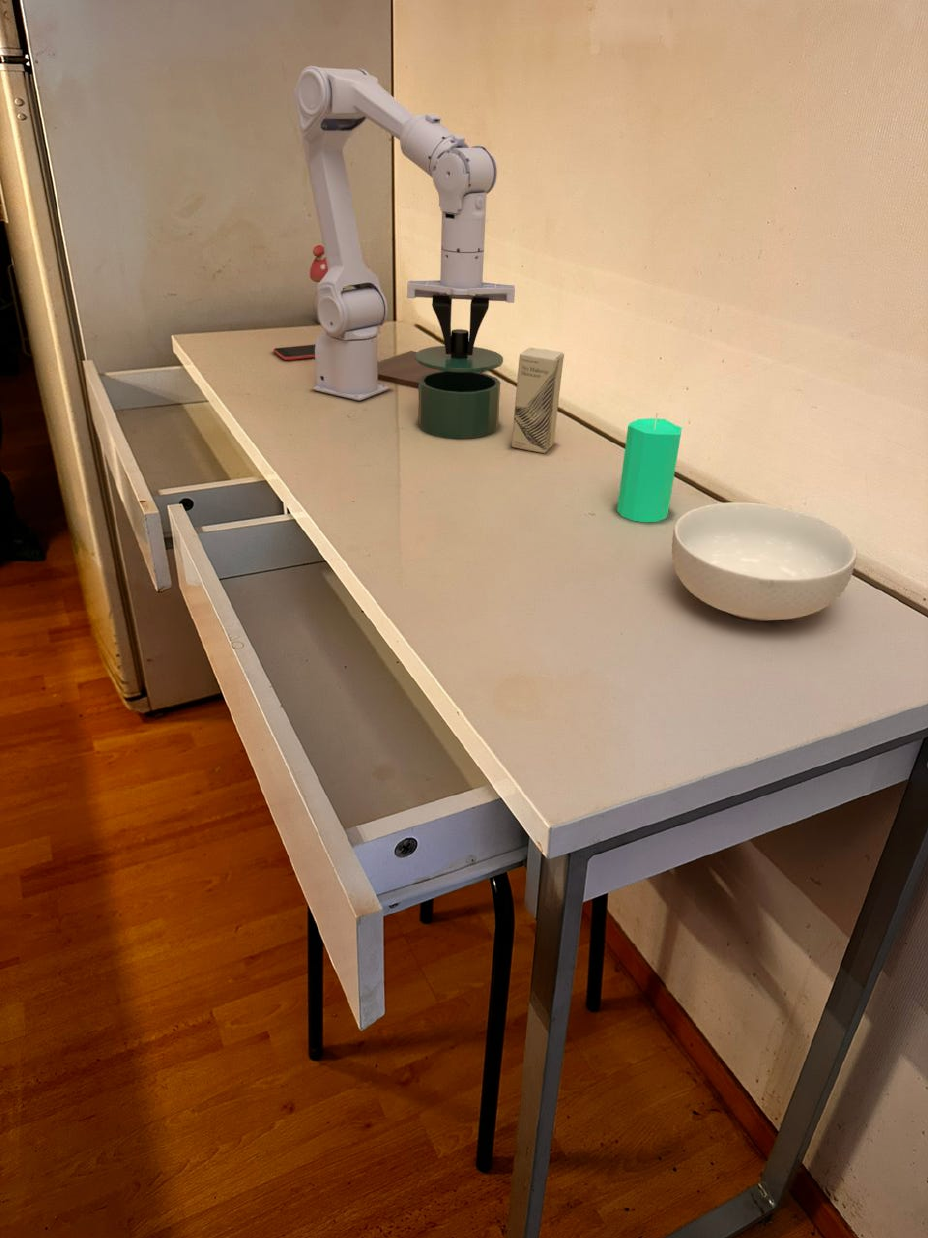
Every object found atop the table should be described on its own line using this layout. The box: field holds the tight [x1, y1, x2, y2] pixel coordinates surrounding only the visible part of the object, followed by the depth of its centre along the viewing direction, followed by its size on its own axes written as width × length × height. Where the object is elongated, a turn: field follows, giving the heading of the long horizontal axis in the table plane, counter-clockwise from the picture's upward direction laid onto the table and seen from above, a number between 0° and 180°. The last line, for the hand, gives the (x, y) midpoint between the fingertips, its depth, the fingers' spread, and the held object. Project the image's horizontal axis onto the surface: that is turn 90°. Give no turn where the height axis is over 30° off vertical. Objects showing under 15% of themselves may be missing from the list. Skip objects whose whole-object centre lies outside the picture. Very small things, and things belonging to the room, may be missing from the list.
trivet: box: [377, 350, 484, 389], centre depth 154 cm, size 16×16×1 cm
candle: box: [616, 412, 683, 523], centre depth 103 cm, size 6×6×12 cm
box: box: [511, 347, 565, 454], centre depth 121 cm, size 5×4×13 cm
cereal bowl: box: [671, 501, 858, 622], centre depth 86 cm, size 17×17×7 cm
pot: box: [417, 371, 501, 440], centre depth 129 cm, size 11×11×6 cm
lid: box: [415, 328, 504, 373], centre depth 126 cm, size 12×12×5 cm
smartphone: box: [273, 343, 316, 361], centre depth 162 cm, size 7×1×14 cm
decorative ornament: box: [309, 244, 346, 325], centre depth 180 cm, size 9×7×15 cm
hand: (459, 352), depth 126 cm, fingers closed on lid, 2 cm apart
